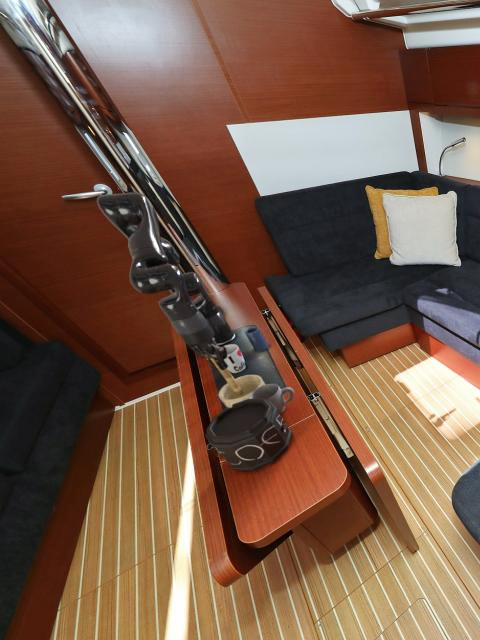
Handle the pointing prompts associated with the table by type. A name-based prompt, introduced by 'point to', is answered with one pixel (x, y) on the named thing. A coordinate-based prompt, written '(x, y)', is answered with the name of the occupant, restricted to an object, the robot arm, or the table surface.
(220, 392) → the bowl
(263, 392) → the mug
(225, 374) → the stick
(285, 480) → the table surface
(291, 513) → the table surface
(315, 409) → the table surface
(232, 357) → the cup
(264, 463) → the dark octagonal canister
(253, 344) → the crock
